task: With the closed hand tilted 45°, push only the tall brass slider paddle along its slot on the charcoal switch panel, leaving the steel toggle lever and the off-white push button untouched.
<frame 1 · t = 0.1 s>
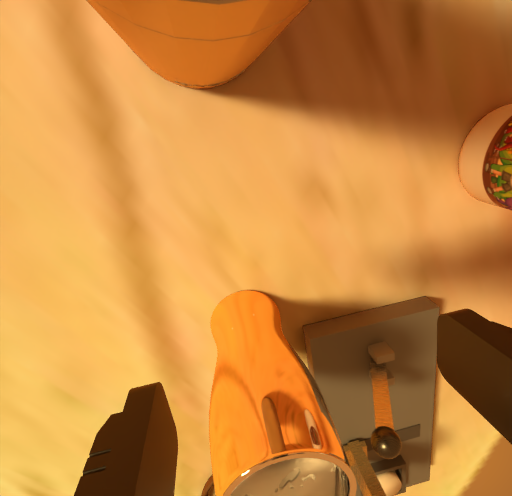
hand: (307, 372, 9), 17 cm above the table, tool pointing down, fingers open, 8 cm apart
toggle lever: (381, 402, 26), point 6 cm above the table, hinge at 24.0°
push button: (384, 483, 36), point 3 cm above the table, slide at 0.0 cm
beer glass: (245, 319, 29), on the table
switch panel: (369, 404, 35), on the table
milk bottle: (495, 154, 27), on the table
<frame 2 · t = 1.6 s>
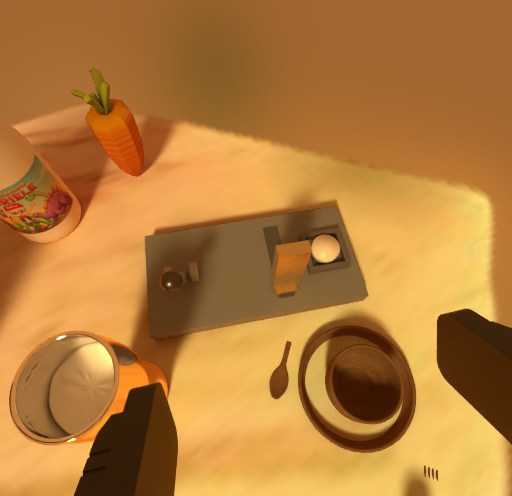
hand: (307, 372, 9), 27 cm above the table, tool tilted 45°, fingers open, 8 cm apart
toggle lever: (177, 279, 32), point 6 cm above the table, hinge at 24.0°
place setting: (347, 427, 33), on the table
push button: (324, 249, 38), point 3 cm above the table, slide at 0.0 cm
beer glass: (139, 392, 34), on the table
switch panel: (252, 271, 40), on the table
carrot: (138, 176, 46), on the table
milk bottle: (53, 219, 43), on the table
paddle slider: (288, 268, 33), point 7 cm above the table, slide at 0.0 cm
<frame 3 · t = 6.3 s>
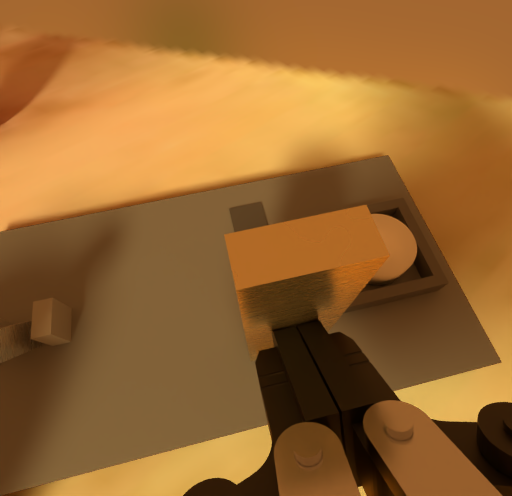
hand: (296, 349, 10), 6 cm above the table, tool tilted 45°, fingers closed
push button: (377, 248, 16), point 3 cm above the table, slide at 0.0 cm
switch panel: (209, 306, 18), on the table
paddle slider: (288, 310, 10), point 7 cm above the table, slide at 0.1 cm, touching gripper
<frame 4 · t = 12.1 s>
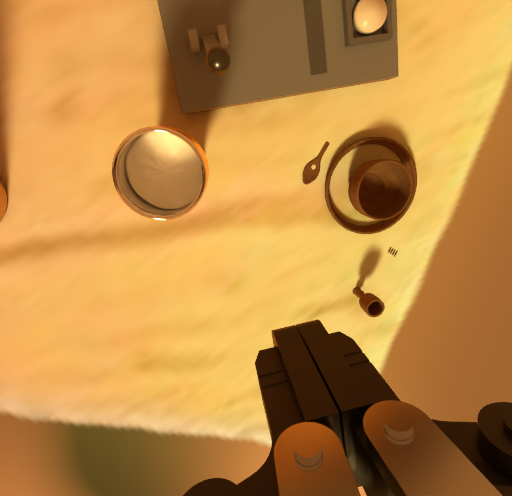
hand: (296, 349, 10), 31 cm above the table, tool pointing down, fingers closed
toggle lever: (213, 51, 29), point 6 cm above the table, hinge at 24.0°
place setting: (349, 213, 43), on the table
push button: (369, 14, 33), point 3 cm above the table, slide at 0.0 cm
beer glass: (176, 163, 38), on the table
switch panel: (281, 36, 35), on the table
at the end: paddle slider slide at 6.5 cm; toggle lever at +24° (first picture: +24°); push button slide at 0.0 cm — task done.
